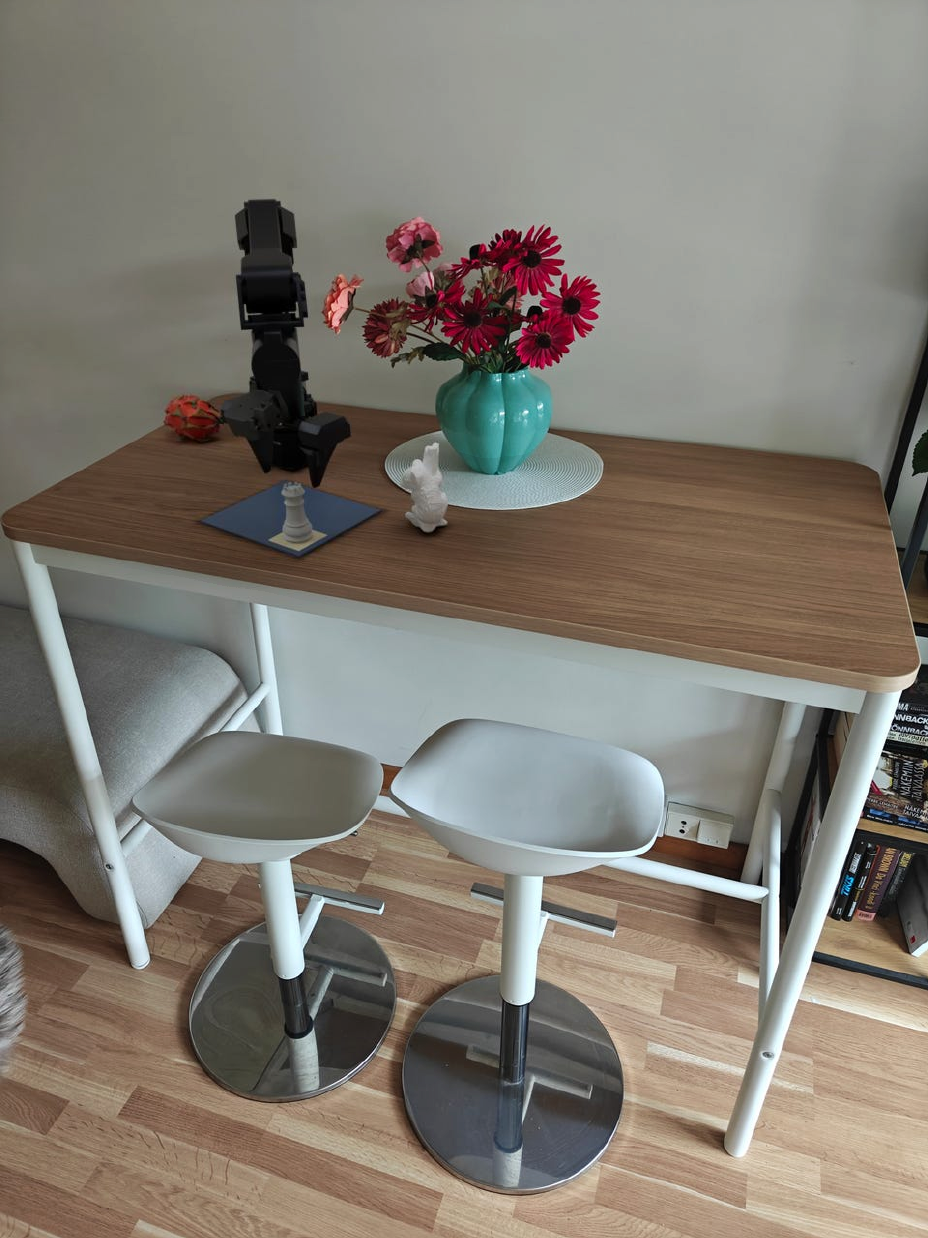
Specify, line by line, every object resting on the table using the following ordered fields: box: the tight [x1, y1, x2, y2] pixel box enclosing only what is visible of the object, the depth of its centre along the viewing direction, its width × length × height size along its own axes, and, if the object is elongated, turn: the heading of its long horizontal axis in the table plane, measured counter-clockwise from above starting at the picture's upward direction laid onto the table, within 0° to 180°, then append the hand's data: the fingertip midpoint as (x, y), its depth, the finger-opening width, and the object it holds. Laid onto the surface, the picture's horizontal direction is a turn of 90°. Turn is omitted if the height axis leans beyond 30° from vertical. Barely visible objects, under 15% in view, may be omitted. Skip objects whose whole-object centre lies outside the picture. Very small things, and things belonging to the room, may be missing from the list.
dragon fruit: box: [162, 393, 225, 442], centre depth 160 cm, size 8×8×12 cm
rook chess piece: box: [281, 481, 313, 543], centre depth 125 cm, size 4×4×8 cm
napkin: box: [200, 480, 382, 558], centre depth 133 cm, size 18×20×1 cm
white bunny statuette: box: [399, 442, 449, 533], centre depth 127 cm, size 8×7×12 cm
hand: (291, 479), depth 122 cm, fingers open, 9 cm apart
